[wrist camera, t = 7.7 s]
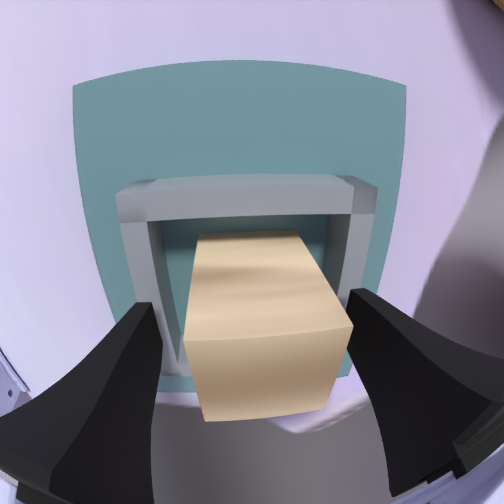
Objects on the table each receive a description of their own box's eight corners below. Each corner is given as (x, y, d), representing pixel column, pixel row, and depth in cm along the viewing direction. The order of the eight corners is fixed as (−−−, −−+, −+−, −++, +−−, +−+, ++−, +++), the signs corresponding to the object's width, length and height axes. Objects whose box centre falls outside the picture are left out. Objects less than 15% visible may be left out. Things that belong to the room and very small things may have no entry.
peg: (288, 305, 13) (323, 408, 8) (206, 310, 13) (205, 421, 8) (295, 229, 11) (353, 325, 6) (199, 233, 11) (183, 340, 6)
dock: (343, 365, 18) (357, 397, 15) (147, 379, 16) (141, 415, 14) (394, 86, 10) (434, 84, 7) (83, 87, 8) (46, 82, 6)
